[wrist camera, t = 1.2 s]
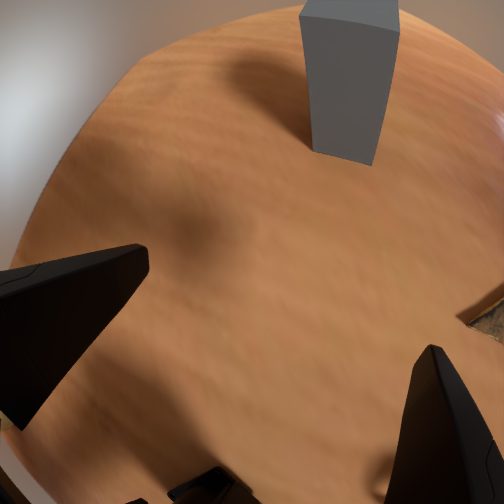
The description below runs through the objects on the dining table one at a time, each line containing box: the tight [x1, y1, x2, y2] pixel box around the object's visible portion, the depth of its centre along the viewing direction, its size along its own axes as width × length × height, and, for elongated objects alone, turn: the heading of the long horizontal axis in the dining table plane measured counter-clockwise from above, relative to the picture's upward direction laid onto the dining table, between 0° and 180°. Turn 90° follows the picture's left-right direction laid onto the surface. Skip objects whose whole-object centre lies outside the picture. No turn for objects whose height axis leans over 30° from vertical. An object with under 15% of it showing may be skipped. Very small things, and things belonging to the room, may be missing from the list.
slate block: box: [299, 0, 400, 166], centre depth 16 cm, size 5×5×13 cm
